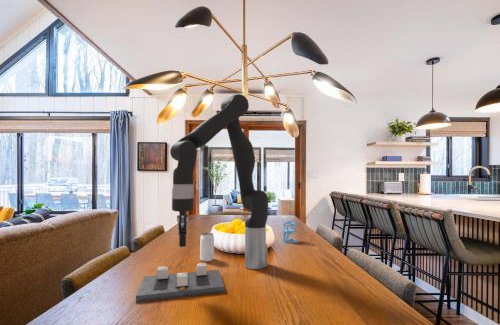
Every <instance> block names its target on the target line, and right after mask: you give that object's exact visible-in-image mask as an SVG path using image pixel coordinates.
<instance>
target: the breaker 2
mask: <svg viewBox="0 0 500 325" xmlns="http://www.w3.org/2000/svg"><path fill="white" fill-rule="evenodd" d="M207 266H208V265H207V262H203V263H197V264H196V272H197V276H199V275H207V271H208V269H207Z"/></svg>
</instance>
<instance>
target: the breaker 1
mask: <svg viewBox="0 0 500 325" xmlns="http://www.w3.org/2000/svg"><path fill="white" fill-rule="evenodd" d="M156 269H157V273H156V274H157V279H167V278H168V274H169V266H168V265H167V266H158V267H157V268H156Z"/></svg>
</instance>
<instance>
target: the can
mask: <svg viewBox="0 0 500 325" xmlns="http://www.w3.org/2000/svg"><path fill="white" fill-rule="evenodd" d="M199 242H200V243H199V245H200V246H199V252H200V253H199V260H200V261H201V262H203V263H207V262H212V261H214V260H215V237H214V233H213V232H204V233H203V232H202V233H201V235H200V238H199Z"/></svg>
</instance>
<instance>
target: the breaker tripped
mask: <svg viewBox="0 0 500 325" xmlns="http://www.w3.org/2000/svg"><path fill="white" fill-rule="evenodd" d="M176 274H177V287H179V286H188V272H179V273H176Z"/></svg>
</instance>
